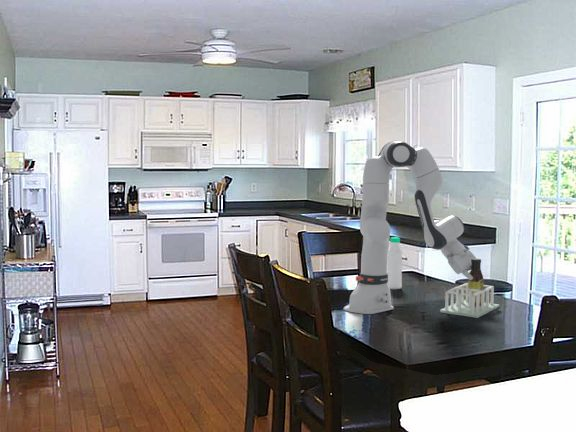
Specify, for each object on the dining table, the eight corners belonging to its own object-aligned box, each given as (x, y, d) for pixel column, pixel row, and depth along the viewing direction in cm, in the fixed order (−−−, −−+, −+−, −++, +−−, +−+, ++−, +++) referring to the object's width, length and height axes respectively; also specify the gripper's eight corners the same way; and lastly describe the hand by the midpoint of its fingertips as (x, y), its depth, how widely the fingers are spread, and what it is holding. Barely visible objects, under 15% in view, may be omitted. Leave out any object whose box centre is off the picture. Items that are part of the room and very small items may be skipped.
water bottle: (401, 286, 321) (402, 236, 319) (402, 289, 314) (403, 238, 312) (386, 286, 322) (387, 236, 320) (387, 289, 315) (388, 238, 313)
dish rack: (477, 317, 258) (478, 295, 257) (439, 312, 267) (440, 290, 267) (499, 306, 278) (499, 286, 277) (463, 301, 287) (463, 281, 287)
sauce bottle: (483, 307, 272) (484, 260, 271) (467, 306, 274) (469, 259, 272) (481, 303, 279) (483, 258, 277) (466, 303, 280) (468, 257, 278)
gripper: (450, 250, 270) (472, 276, 265) (469, 245, 287) (490, 269, 282) (440, 260, 273) (461, 285, 268) (459, 254, 290) (479, 278, 285)
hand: (476, 277), depth 275 cm, fingers open, 8 cm apart
